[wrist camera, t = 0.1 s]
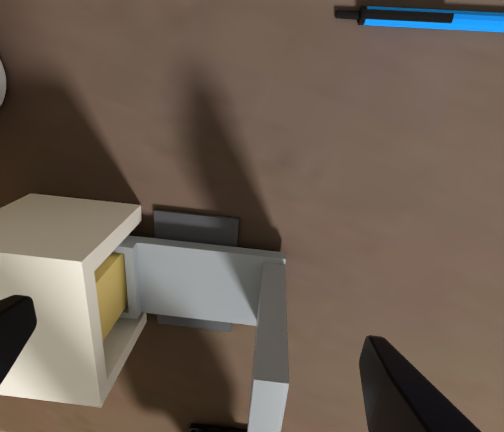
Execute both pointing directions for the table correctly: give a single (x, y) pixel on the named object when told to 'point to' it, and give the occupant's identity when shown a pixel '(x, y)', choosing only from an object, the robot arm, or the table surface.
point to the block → (111, 290)
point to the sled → (219, 304)
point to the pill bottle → (2, 83)
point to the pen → (426, 18)
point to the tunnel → (81, 289)
